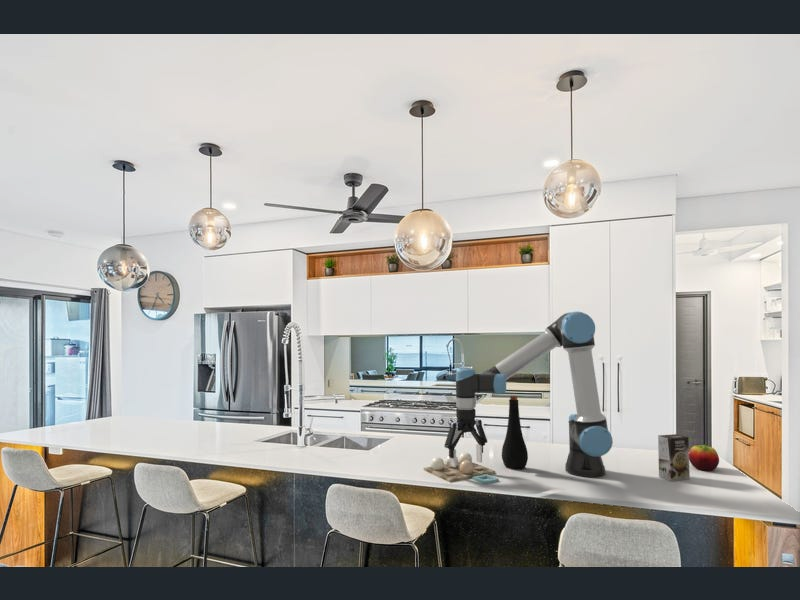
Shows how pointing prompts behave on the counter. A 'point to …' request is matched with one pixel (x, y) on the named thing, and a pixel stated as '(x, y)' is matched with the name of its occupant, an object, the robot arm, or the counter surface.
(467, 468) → the brown egg
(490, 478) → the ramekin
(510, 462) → the bottle
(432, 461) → the cream egg
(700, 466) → the fruit
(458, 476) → the carton
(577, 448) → the robot arm
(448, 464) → the cream egg
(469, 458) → the cream egg
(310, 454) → the counter surface
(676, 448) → the coffee box
